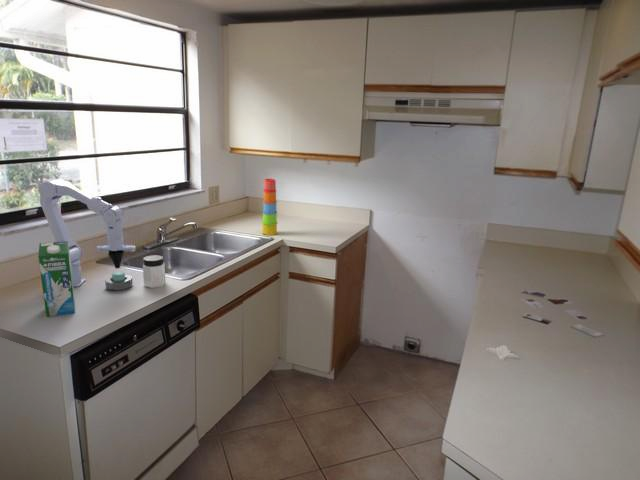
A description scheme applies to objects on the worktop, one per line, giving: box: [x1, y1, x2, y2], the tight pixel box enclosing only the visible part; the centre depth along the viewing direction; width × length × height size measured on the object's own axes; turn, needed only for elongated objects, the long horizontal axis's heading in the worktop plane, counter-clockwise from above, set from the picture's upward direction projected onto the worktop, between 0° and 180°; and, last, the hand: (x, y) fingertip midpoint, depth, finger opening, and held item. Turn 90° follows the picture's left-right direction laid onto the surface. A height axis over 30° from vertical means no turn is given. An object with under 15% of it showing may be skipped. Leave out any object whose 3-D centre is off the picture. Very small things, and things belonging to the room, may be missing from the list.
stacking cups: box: [261, 178, 279, 236], centre depth 278 cm, size 10×10×35 cm
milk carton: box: [38, 241, 76, 318], centre depth 161 cm, size 9×9×25 cm
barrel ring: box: [104, 274, 133, 292], centre depth 188 cm, size 10×10×3 cm
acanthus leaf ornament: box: [486, 345, 519, 361], centre depth 146 cm, size 8×7×2 cm
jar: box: [142, 254, 167, 289], centre depth 190 cm, size 9×8×12 cm
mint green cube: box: [111, 271, 126, 282], centre depth 187 cm, size 5×5×4 cm
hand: (117, 267), depth 186 cm, fingers closed
